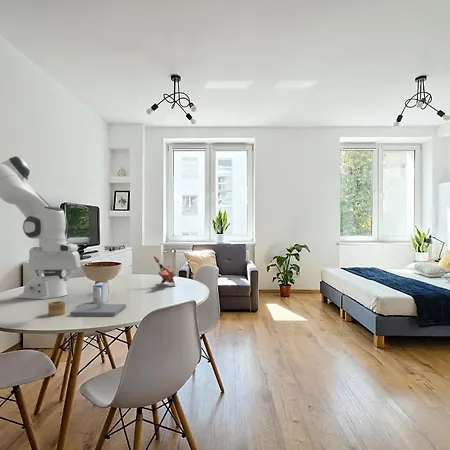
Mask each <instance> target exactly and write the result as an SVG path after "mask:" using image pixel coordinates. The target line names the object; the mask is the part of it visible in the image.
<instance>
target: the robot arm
mask: <svg viewBox="0 0 450 450" xmlns="http://www.w3.org/2000/svg"><path fill="white" fill-rule="evenodd" d="M30 171H31V170H30V168H29V165H28V163H27V162H26V160H24V159H22V158H20V156H12V157H9V158H8V159H7V160H5V161H2V162H0V199H1V200H2V201H4V202H5V203H8V204H10V205H15V207H17V209H18V210H19V211H20V212H21V213H22V215H23V216H24V217H25V219H24V221H23V222H22V223H23V224H22V229H23V233H24V234H25V236H26V237H28V238H30V239H38V246H33V247H31V248H30V249H29V251H28V252H29V253H28V254H29V256H28V257H29V258H28V264H27V265H28V269H29V270H31V271H34V273H36V275H35V276H34V277H33V278H32V279H30V280H29V281H28V282H26V283H25V285H24V287H23V292H22V293H20V294H19V295H18V297H17V298H18V299H35V300H47V299H53V298H60V297H64V296H66V295H68V294H69V293H68V290H67V286H66V282H68V281H70V275H71V274H72V270H74V271H75V270H78V269H80V268H81V257H80V253H79V251H78V250H79V246H78V245H77V244H74V243H71V242H68V241H67V237H66V234H67V233H68V230H69V222H68V220H67V219H66V216H65V215H66V214H65V212H64V211H65V210H63V209H62V208H61V207H59V206H58V207H57V206H51V205H50V204H49V203H48V202H47V201H46V200H45V199H44V198H43V197H42V196H41V195H40V194H38V193H37V192H36V190H34V188H33V187H32V186H31V185H30V184H29V183H28V182H26V181H25V180H27V181H28V180H29V175H30ZM24 179H25V180H24Z"/></svg>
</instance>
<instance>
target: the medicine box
mask: <svg viewBox="0 0 450 450" xmlns="http://www.w3.org/2000/svg"><path fill="white" fill-rule="evenodd" d="M97 288H101V304H106V302H108V301H109V282H98V283H96V284H94V285H92V304H97Z"/></svg>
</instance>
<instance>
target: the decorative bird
mask: <svg viewBox="0 0 450 450" xmlns="http://www.w3.org/2000/svg"><path fill="white" fill-rule="evenodd" d="M153 258H154V261H155V262H156V263H157V265H158V266H159V270H160V271H158V274H159V277H161V279H162V280H161V282H159V283H156V284H154V286H156V287H158V286H160V285H164V284H165V283H166V282H167V283H169V284H170V285H171V286H173V287H176V286H175V285H176V284H175V281H174V278H175V276H176V275H175V273H174V271H173V270H172V268H171V267H170V265H169V266H167V268H166V267H164V265H163V264H162V262H161V261H160V259H159V258H157V257H156V256H155V255H154V257H153Z"/></svg>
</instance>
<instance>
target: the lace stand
mask: <svg viewBox="0 0 450 450" xmlns="http://www.w3.org/2000/svg"><path fill="white" fill-rule="evenodd" d="M126 308H127V304H126V303H123V304H121V303H119V304H118V303H103V304H101V288H97V304H93V303H84V304H83V305H81V306H78V307H77V308H75V309H73V310H71V311H69V317H116V316H117V315H118V314H119V313H122V311H124V310H125V309H126Z"/></svg>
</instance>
